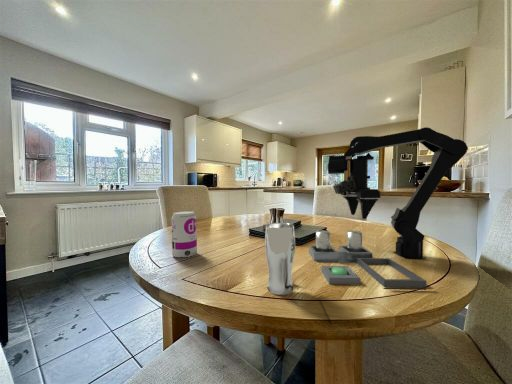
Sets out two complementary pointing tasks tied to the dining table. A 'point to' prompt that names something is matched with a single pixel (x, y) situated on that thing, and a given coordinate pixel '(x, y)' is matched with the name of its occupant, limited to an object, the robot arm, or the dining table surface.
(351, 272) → the button housing
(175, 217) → the supplement can
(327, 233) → the seated billet
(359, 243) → the billet
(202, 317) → the dining table surface
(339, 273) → the button
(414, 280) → the grey rectangular frame
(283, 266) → the silver vase
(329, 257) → the grey shallow tray
